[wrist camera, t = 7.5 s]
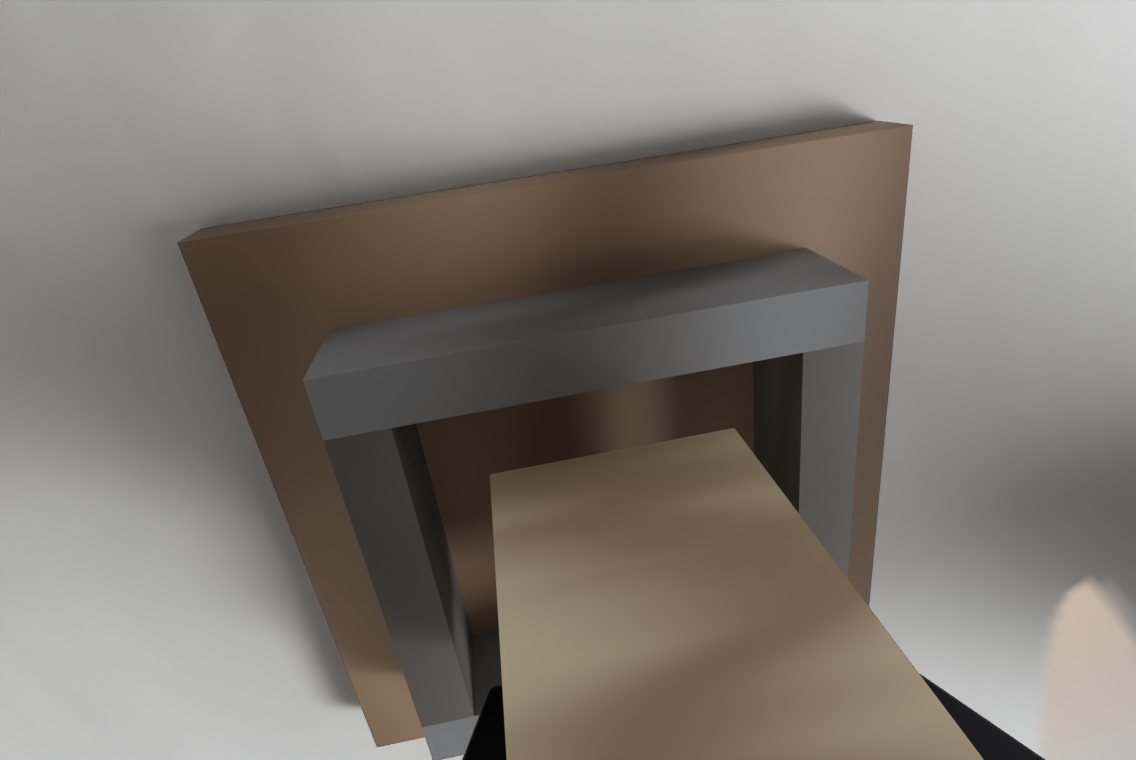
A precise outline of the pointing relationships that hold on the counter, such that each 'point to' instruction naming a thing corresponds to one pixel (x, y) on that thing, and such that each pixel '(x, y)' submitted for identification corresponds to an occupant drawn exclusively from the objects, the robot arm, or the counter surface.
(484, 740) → the robot arm
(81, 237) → the counter surface
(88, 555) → the counter surface
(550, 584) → the maple peg
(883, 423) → the socket holder
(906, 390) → the counter surface
